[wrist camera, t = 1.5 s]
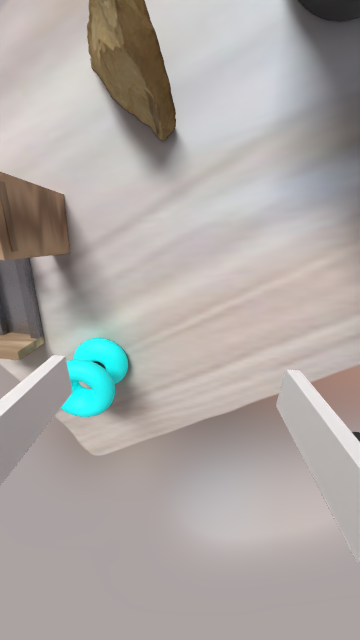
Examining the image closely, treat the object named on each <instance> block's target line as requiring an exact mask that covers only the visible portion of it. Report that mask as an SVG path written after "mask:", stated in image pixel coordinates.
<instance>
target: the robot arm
mask: <svg viewBox="0 0 360 640" xmlns="http://www.w3.org/2000/svg"><path fill="white" fill-rule="evenodd" d="M300 1H301V2H302V3H303V5H304V6H305V7H306V8H307V9H309V10H310V11H311V12H313V13H314V14H316V15H318V16H320V17H322V18H325V19H329V20H336V21H342V20H350V19H354V18H357V17H360V0H300ZM72 393H73V391H72V386H71V381H70V376H69V371H68V366H67V362H66V357H65V356H56V355H53V356H52V357H50V358H49V359H48V360H47V361H46V362H44V363H43V364H42V365H41V366H40V367H38V368H37V369H36V370H35V371H34V372H32V373H31V374H30V375H29V376H28V377H26V378H25V379H24V380H23V381H22V382H21V383H19V384H18V385H17V386H16V387H15V388H13V389H12V390H11V391H10V392H9V393H8V394H6V395H5V396H4V397H3V398H2V399H0V486H1V484H2V483H3V482H4V481H5V479H6V478H7V477H8V475H9V474H10V473H11V471H12V470H13V469H14V468H15V466H16V465H17V464H18V462H19V461H20V460H21V458H22V457H23V456H24V455H25V453H26V452H27V451H28V450H29V448H30V447H31V446H32V444H33V443H34V442H35V440H36V439H37V438H38V436H39V435H40V434H41V433H42V431H43V430H44V429H45V428H46V426H47V425H48V423H49V422H50V421H51V420H52V419H53V417H54V416H55V415H56V413H57V412H58V411H59V409H60V408H61V407H62V406H63V404H64V403H65V402H66V400H67V399H68V398H69V397H70V395H71V394H72ZM276 407H277V409H278V411H279V413H280V415H281V416H282V418H283V421H284V422H285V424H286V426H287V428H288V430H289V432H290V434H291V436H292V438H293V440H294V442H295V444H296V446H297V448H298V450H299V451H300V453H301V455H302V457H303V459H304V461H305V463H306V465H307V467H308V469H309V471H310V473H311V474H312V476H313V479H314V480H315V482H316V484H317V486H318V488H319V490H320V492H321V494H322V496H323V498H324V500H325V502H326V504H327V506H328V508H329V509H330V511H331V513H332V515H333V517H334V519H335V521H336V522H337V525H338V527H339V529H340V531H341V533H342V534H343V537H344V538H345V540H346V542H347V544H348V546H349V548H350V550H351V552H352V554H353V556H354V558H355V560H356V562H360V433H359V432H351V431H350V430H349V429H348V427H347V426H346V425H345V424H344V423H343V422H342V420H341V419H340V418H339V417H338V416H337V414H336V413H335V412H334V411H333V410H332V409H331V408H330V406H329V405H328V404H327V402H326V401H325V400H324V399H323V398H322V397H321V395H320V394H319V393H318V392H317V391H316V389H315V388H314V387H313V386H312V385H311V383H310V382H309V381H308V380H307V379H306V377H305V376H304V375H303V374H302V373H301V372H300V370H286V372H285V376H284V379H283V383H282V386H281V390H280V393H279V397H278V400H277V404H276Z"/></svg>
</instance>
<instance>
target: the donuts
mask: <svg viewBox="0 0 360 640" xmlns="http://www.w3.org/2000/svg"><path fill="white" fill-rule="evenodd" d="M93 361H98V362H101V363H102V364H104V366H105V367H106V370H105V369H104V368H103V367H101V366H100V365H98V364H96V363H94V362H93ZM67 366H68V371H69V376H70V381H71V386H72V391H73V393H72V394H71V395H70V397H69V398H68V399H67V400H66V402H65V403H64V404H63V406H62V407H61V409H62V410H64V411H65V412H67V413H69V414H72V415H75V416H80V417H90V416H95V415H98V414H101V413H102V412H104V411H105V410H107V409H108V408H109V407H110V405H111V404H112V402H113V400H114V397H115V384H117V383H118V382H120V381H121V380H122V379H123V378H124V377H125V375H126V373H127V370H128V359H127V356H126V354H125V352H124V351H123V349H122V348H121V347H120V346H119V345H117V344H116V343H114V342H113V341H110V340H108V339H103V338H93V339H89V340H87V341H85V342H83V343H82V344H81V345H80V346H79V347H78V348H77V349H76V351H75V354H74V360H70V361H67ZM79 381H81V382H84V383H86V384H87V385H89V386H90V387H91V388H92V389H86V388H84V387H82V386H81V385H80V383H79Z"/></svg>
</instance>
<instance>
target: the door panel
mask: <svg viewBox="0 0 360 640" xmlns="http://www.w3.org/2000/svg"><path fill="white" fill-rule="evenodd" d="M68 253H70V248H69V238H68V229H67V220H66V211H65V202H64V195H63V194H61V193H58V192H55V191H52V190H49V189H47V188H44V187H41V186H38V185H36V184H33V183H30V182H27V181H24V180H22V179H19V178H16V177H13V176H11V175H8V174H5V173H2V172H0V260H12V259H22V258H31V257H40V256H49V255H59V254H68Z"/></svg>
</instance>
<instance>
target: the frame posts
mask: <svg viewBox="0 0 360 640" xmlns="http://www.w3.org/2000/svg"><path fill="white" fill-rule="evenodd" d="M44 343H45V342H44V336H41V337H40V338H38V339H34V338H31V336H30V335H29V334H19V333H10V332H9V333H7V334H5V335H0V358H2V359H11V360H21V359H22V358H24V357H25V356H26V355H28V354H29V353H31V352H32V351H34V350H35V349H36V348H38V347H39V346H41V345H42V344H44Z"/></svg>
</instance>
